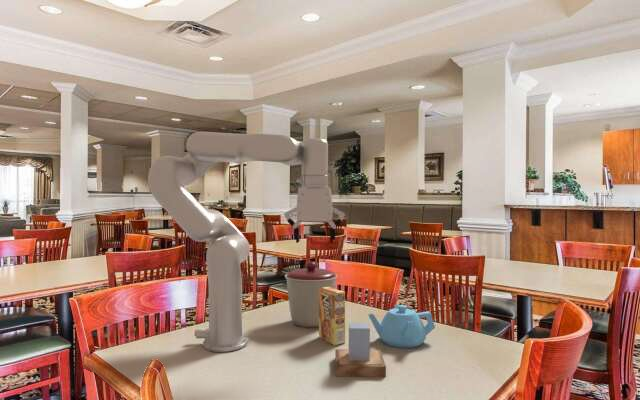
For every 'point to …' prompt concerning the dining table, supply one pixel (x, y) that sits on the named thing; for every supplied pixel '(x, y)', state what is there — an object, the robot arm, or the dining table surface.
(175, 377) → the dining table surface
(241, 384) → the dining table surface
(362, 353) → the block
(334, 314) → the candy box
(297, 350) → the dining table surface
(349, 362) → the plinth
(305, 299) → the canister
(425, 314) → the teapot
